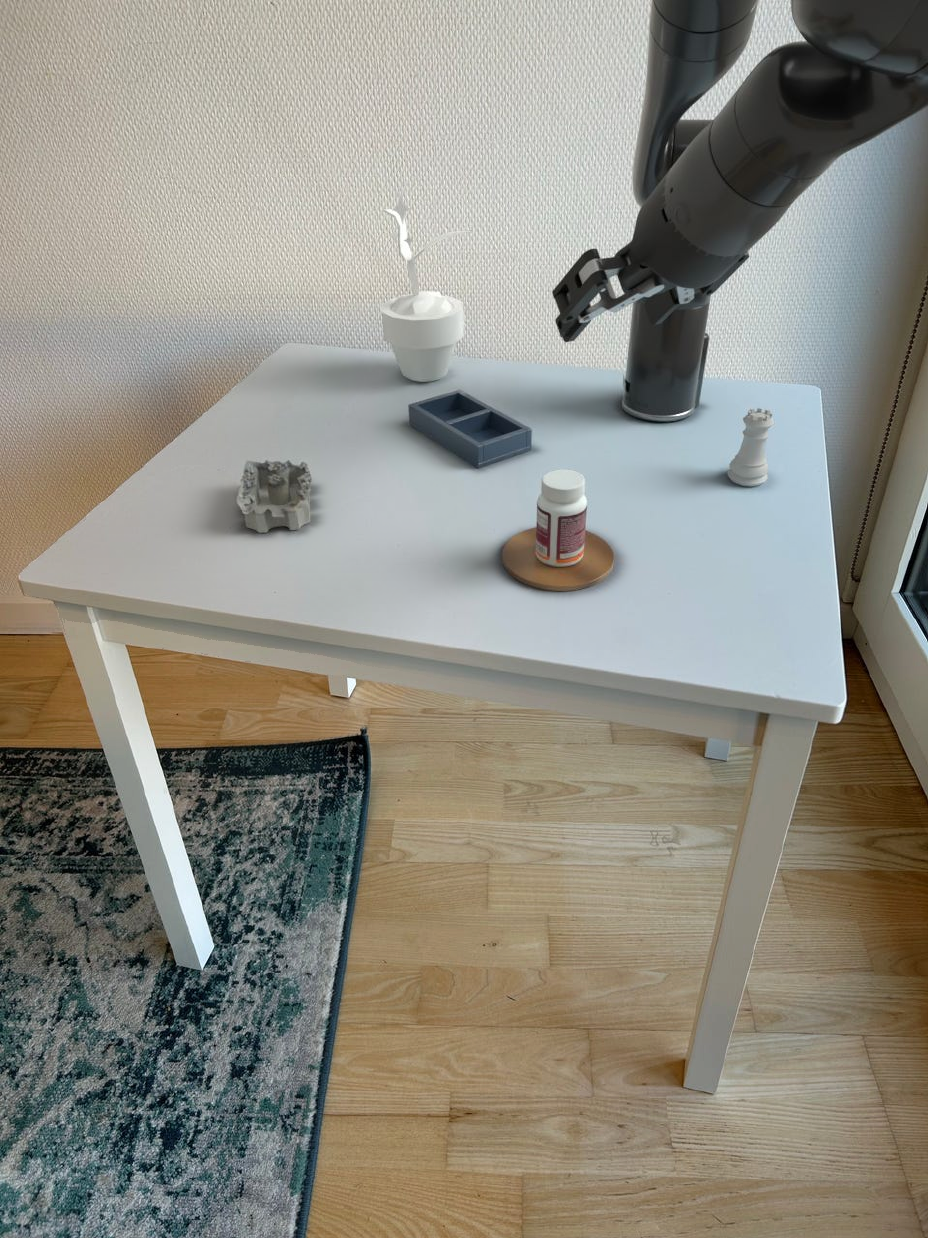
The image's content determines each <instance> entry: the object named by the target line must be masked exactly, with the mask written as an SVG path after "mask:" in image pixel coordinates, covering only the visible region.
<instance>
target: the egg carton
mask: <svg viewBox="0 0 928 1238" xmlns="http://www.w3.org/2000/svg"><path fill="white" fill-rule="evenodd" d="M308 465H309V464H308V463H307V462H305V461H301V463H300V464H294V463H293V462H292V461H291V460H290V459H289V460H286V461H284V462H281V461H279V460H276V461H269V460H266V459H265V461H264V462H260V461H254V460H250V459H246V461H245V464H244V469H243V475H242V476H241V479H240V482H239V488H238V492H237V496H236V503H237V505H238V506H239V508H240V510H241V512H242V514H243V515H244V521H245V527H246V528H247V529H252V530H254V531H256V532H257V533H259V534H262V533H263V534H264V533H265V534H266V533H268V531H269V530H270V529H273V528H277V527H287V528H288V529H289V531H298V530H300V529H301V527H303V526H304V525H307V524H309V523H310V522H311V494H310V493H311V491H312V490H311V487H310V485H311V483H312V474H311V472H310V469H309V466H308Z"/></svg>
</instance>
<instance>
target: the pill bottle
mask: <svg viewBox="0 0 928 1238" xmlns="http://www.w3.org/2000/svg"><path fill="white" fill-rule="evenodd" d="M540 489H541V490H540V491H541V493H540V494H539V495H538V497H537V501H536V522H535V523H536V526H535V528H536V556H537V558H538V559H539V560H540V561H541V562H543V563H545V564H548V565H551V566H556V567H566V566H571V565H573V564H576V563H577V562H579V561H580V560H581V559H582V557H583V554H584V540H585V530H586V525H587V513H588V511H587V510H588V499H587V497H586V495H585V491H586V479H585V477H584V475H582V473H580V472H577V471H575V470H571V469H555V470H550V471H548V472H546V473H545V474H543V476H542V477H541V487H540Z"/></svg>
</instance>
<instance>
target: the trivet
mask: <svg viewBox="0 0 928 1238" xmlns="http://www.w3.org/2000/svg"><path fill="white" fill-rule="evenodd" d="M501 560H502V564H503V567H504V569H505V570H506V572H507V573H508V574H509V575H510V576H511V577H513V578H514V579H515V580H516V581H518V582H520V583H522V584H525V585H527V586H529V587H532V588H536V589H540V590H544V591H552V592H553V591H554V592H569V591H571V592H572V591H577V590H582V589H586V588H590V587H592V586H595V585H597V584H599V583H600V582H602V581H604V580H605V579H606V578H607V577H608V576H609V575H610V573H611V572H612V570H613V568H614V563H615V554H614V551H613V549H612V546H611V545H610V544H609V543H608V542H606V540H604V539H603V538H602V537H600V536H599V535H597V534H596V533H593V532H591V531H588V530H586V529H585V540H584V554H583V557H582V559H581V560H580V561H579V562H577V563H576V564H573V565H571V566H566V567H556V566H551V565H548V564H545V563H543V562H541V561H540V560H539V559H538V558H537V556H536V527H531V528H529V529H525V530H523V531H521V532H518V533H517V534H515V535H513V536H512V537H510V538H509V540H507V542H506V543H505V545H504V546H503V549H502V555H501Z"/></svg>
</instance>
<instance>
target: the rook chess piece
mask: <svg viewBox="0 0 928 1238" xmlns="http://www.w3.org/2000/svg"><path fill="white" fill-rule="evenodd" d="M755 410H756V411H755ZM742 421H743V423H744V425H745V429H744V430H742V435H743V439H742V442H741V445H740V447H739V451H738V452H737V454H736V455H734V458H733V459H732V460H731V461H730V463H729V469H728V470H727V476H728V477H729V480H730V481H731V482H732V483H735V484H736V485H738V486H743V487H749V488H750V487H751V488H752V487H758V486H762V485H763V484H764V483H765V482H766V481H767V480H768V478H769V477H768V476H769V475H768V473H769V472H770V471H769V470H770V469H769V464H768V462H767V461H768V460H767V458H766V444H767V439H768V438H769V437H770V432H769V429H770V428H771V427H772V426H773V425H774V424H775V421H774V418H773V412H771V410H770V409H767V408H766V409H765V410H764V412H763V407H757V409H756V408H754V407H752V408H750V409H749V410H748V411H747V414H746V415H745V416H743V418H742Z"/></svg>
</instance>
